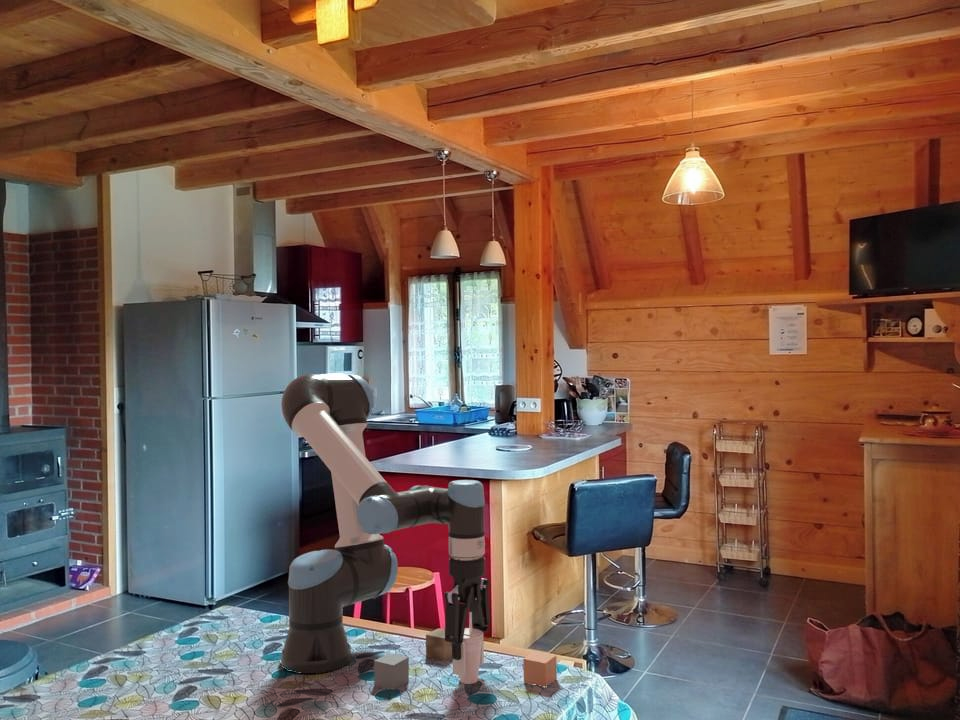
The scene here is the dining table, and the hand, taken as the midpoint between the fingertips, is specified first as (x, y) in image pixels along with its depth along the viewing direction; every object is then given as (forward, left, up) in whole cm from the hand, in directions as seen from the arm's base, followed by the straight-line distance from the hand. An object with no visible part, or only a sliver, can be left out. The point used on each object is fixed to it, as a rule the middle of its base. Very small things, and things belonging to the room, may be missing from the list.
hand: (468, 668), depth 154 cm
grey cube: (-13, -9, -3) cm, 16 cm away
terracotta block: (+13, +7, -3) cm, 15 cm away
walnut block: (-13, +9, -3) cm, 16 cm away
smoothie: (0, 0, -3) cm, 3 cm away
